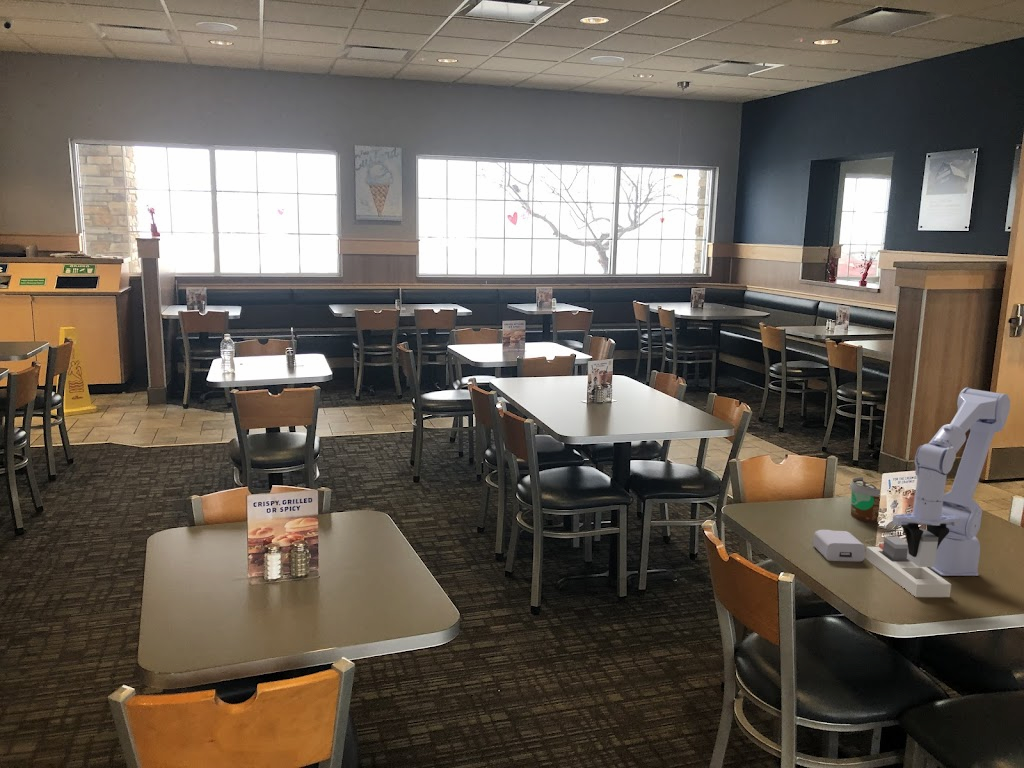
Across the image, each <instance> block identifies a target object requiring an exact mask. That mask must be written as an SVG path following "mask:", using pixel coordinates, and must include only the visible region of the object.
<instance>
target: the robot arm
mask: <svg viewBox="0 0 1024 768" xmlns="http://www.w3.org/2000/svg"><path fill="white" fill-rule="evenodd" d="M956 404H957V405H956V407H957V412H956V413H955V415H954V417H953V419H952V420H951V422H950V423H949V424H948V423H947V424H944V425H942V426H941V427H940V428H939V430H938V431H937V432H936V433H935V434H934V436H933V437H932V438H931V439H930V441H929V442H928V443H925V444H923V445H922V444H921V445H920V446H918V447H917V450H916V453H915V456H914V465H915V471H914V473H915V476H916V477H917V478H916V485H915V493H914V500H913V505H912V506H913V509H912V512H907V513H901V514H893V516H892V524H893V525H895V526H897V527H901V528H902V530H903V533H904V535H905V538H906V542H907V544H908V551H909V554H910V555H911V556H913V557H916V556H917V553H918V547H919V542H920V539H921V536H922V534H923V531H922V530H921V528H920V526H926V530H927V531H929V532H930V533H932V534H934V535H935V536H937V537H938V544H937V551H936V559H935V566H934V567H929V569H930V570H932V571H933V572H935V573H936V574H938V575H939V576H941V577H942V576H945V577H946V576H947V577H948V576H949V577H950V576H951V577H952V576H953V577H954V576H956V577H960V576H964V577H966V576H967V577H968V576H969V577H970V576H972V577H975V576H979V575H980V573H979V572H978V569H979V568H978V567H979V560H980V554H981V544H980V541H979V539H978V537H976V536H977V535H978V533H979V531H980V528H981V523H982V515H983V510H982V507H981V506H980V505H979V504H978V502H977V501H976V500H975V499H974V496H975V493H976V491H977V490H976V489H977V486H978V484H979V481H980V477H981V475H982V471H983V468H984V465H985V463H986V459H987V456H988V454H989V450H990V447H991V444H992V441H993V439H994V436H995V434H996V433H998V432H1001V431H1003V429H1004V427H1005V426H1006V422H1007V419H1008V417H1009V413H1010V410H1011V399H1010V396H1009V395H1008V393H1003V392H1002V393H998V392H993V391H988V390H980V389H974V388H970V387H964V388H963V389H962V390H961V391H960V392H959V394H958V396H957V403H956ZM968 431H970V432H969V434H968V438H967V435H966V433H967V432H968ZM965 442H966V444H965ZM964 444H965V447H964V450H963V452H962V455H961V459H960V462H959V465H958V468H957V471H956V474H955V477H954V480H953V483H952V487H951V488H950V489H951V490H950V491H948V492H945V490H946V485H947V484H946V483H947V477H948V476H947V475H948V474H949V473H950V471H951V470H952V468H953V466H954V462H955V461H956V458H957V457H956V456H957V455H956V454H957V453H958V452H959V451H960V449H961V448H962V446H963V445H964Z"/></svg>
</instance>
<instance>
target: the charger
mask: <svg viewBox="0 0 1024 768" xmlns="http://www.w3.org/2000/svg"><path fill="white" fill-rule="evenodd" d="M812 545H813V547H814V548H815V549H816V550H817V551H818V552H819V553H820V554H821V555H822V556H823V557H824V558H825V559H826V560H827V561H831V562H833V561H834V562H862V561H864V560H865V555H866V546H865V545H864V543H862V542H861V541H860V540H859V539H858V538H856V537H855V535H853V534H852V533H851V532H849V531H846V530H831V529H818V530H815V532H814V534H813V544H812Z"/></svg>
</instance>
